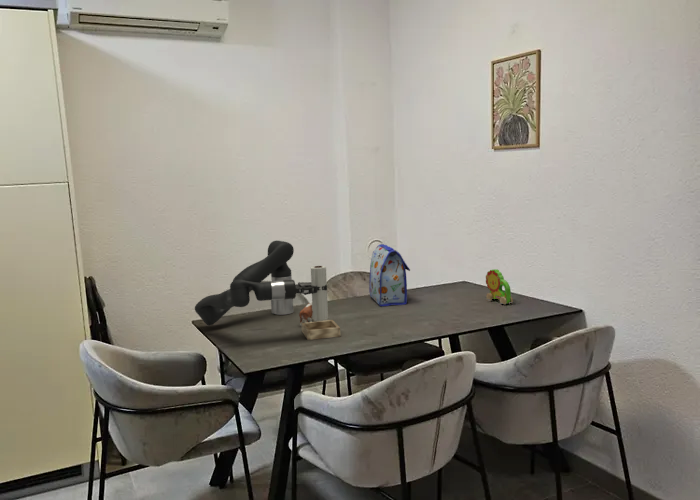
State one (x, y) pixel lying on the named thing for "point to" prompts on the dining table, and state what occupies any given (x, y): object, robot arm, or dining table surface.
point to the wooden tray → (320, 329)
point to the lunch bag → (388, 277)
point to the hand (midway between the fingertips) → (325, 286)
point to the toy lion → (498, 287)
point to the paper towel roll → (319, 293)
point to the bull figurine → (306, 313)
